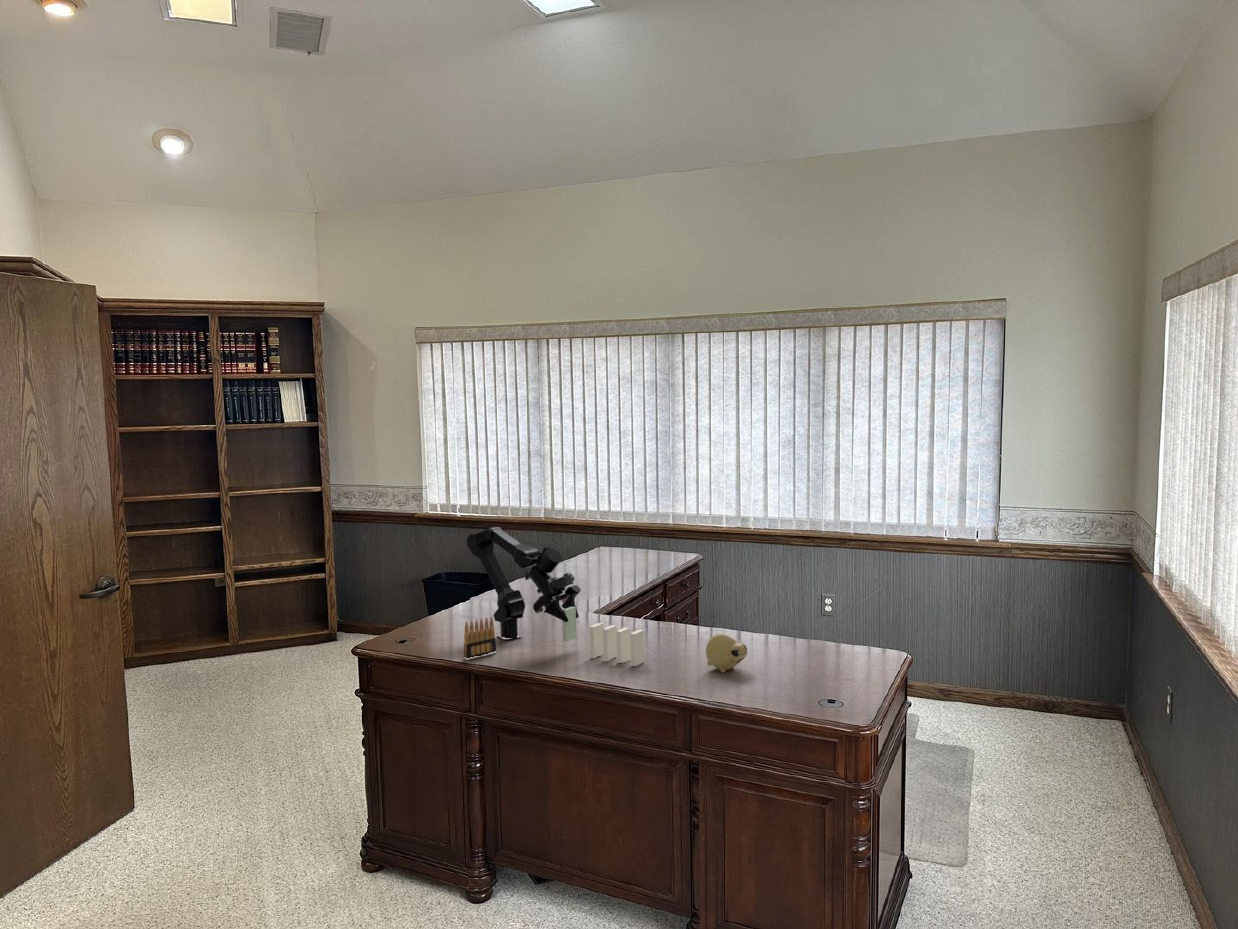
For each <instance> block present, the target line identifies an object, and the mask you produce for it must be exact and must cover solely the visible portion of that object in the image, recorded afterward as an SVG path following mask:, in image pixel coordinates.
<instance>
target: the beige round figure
mask: <svg viewBox="0 0 1238 929" xmlns="http://www.w3.org/2000/svg"><path fill="white" fill-rule="evenodd" d="M747 655H748V647H747V645H746V644H743V643H740V642H738V641H737V640H735V639H734V638H733V637H731V636H729V635H728V634H725V633H717V634H715V635H713V636H712V637H711V638H710V639H709V640H708V642H707V644H706V647H705V656H706V659H707V663H706V664H707V666H709V667H711V666H713V667H714V668H716V669H719V670H720V673H724V674H725V672H726V671H728V670H732V668H733V669H734V668H735V667H737V665H738V664H739V663H740V662H742V661H743V660H745V658H746V657H747Z"/></svg>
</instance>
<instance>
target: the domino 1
mask: <svg viewBox="0 0 1238 929" xmlns="http://www.w3.org/2000/svg"><path fill="white" fill-rule="evenodd" d="M576 609H577V606H576V607H573V606H571V607H569V608H566V609H564V608H563V609H562V610H563V612H564V613H565V615H566V616H567V618H568V620H569V621H568V622H564V621H562V642H566V643H567V642H570V641H572V640H574V639H577V636H578V635H577V618H576Z"/></svg>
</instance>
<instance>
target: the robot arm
mask: <svg viewBox="0 0 1238 929" xmlns="http://www.w3.org/2000/svg"><path fill="white" fill-rule="evenodd" d="M495 545H497V546H499V547H500V548H501V549H503V550H504V551H505V552H507V553H508V554H509V555H510V556H512V559H513V561H514V563H515V564H516V565H517V567H519V568H521V569H528V568H530V569H528V570H526V571H525V575H524V576H525V577H524V579H525V581H528V580H531V581H532V582H533V583H534V584H535V586H536V588H537V590H536V592H537V593H538V594H540V593H541V594H542V595H540V597H538V598H537V600H536V601H535V602H534V603H533V604H532V609H533V611H534V612H535V614H539V613H542V612H543V614H548V615H551V616H552V617H554V618H556V619H559V620H561V621H562V622H563V621H564V622H568V621H569V620H568V618H567V616H566V615H565V613H564V612H563V609H566V608H569V607H571V606H573V607H576V619H578V618H579V613H578V609H577V606H576V603H575V598H576V597H577V596H578V595H579V593H581V591H582V589H581V588H580V587H579V585H577V584H574V581H575V576H574V574H572V572H570V571H569V572H566V573H564V574H563V576H561V577H556V576H554V577H553V576H552V575H551V573H553V572H554V570H555V569H556V568H557V566H558V565H559V564H560V563H561V561H562V560H563V556H562V554H561V552H559V550H556V549H554V548H552V547H551V546H550V545H547V546H544V548H543V550H542V552H541V551H539V549H537V548H536V547H533V546H530V545H526V544H523V543H521V542H519V541H518V540H517V539H515V538H514V537H512V536H511V535H509V533H507V532H505V531H504V530H503V529H502V528H501V527H499V526H492V527H488V528H486V529H485V530H483V531H480V532H476V533H470V534H468V536H467V539H466V546H467V547H468V549H469V551H470V552H471V554H473V555H474V556H475V557H476V558H478V559H479V560H480V561H481V562H480V563H482V566H483V568H484V570H485V572H486V574H487V576H488V579H489V580H490V582H491V585H492V586H493V589H494V590H495V593H496V594H497V599H496V600H497V602H496V605H497V609H496V611H494V613H493V620H494V621H495V622H499V623H500V624H499V625H500V626H499V627H500V634H501V637H505V638H516V637H517V635H518V634H519V632H518V619H522V618H523V617H524V612H525V608H526V603H525V599H524V597H523V595H522V593H521V591H520V590H519V589H516V590H514V589H513V588H512V587H511V585H510V582H509V581H508V578H506V577H507V576H506V575H505V573H504V571H503V569H502V568H501V565H500V563H499V561H498V560H497V557H496V556H495V552H494V548H495ZM573 584H574V585H573ZM560 601H561V603H562V605H560ZM543 607H544V609H543ZM562 608H563V609H562ZM543 610H544V611H543ZM516 639H517V638H516Z"/></svg>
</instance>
